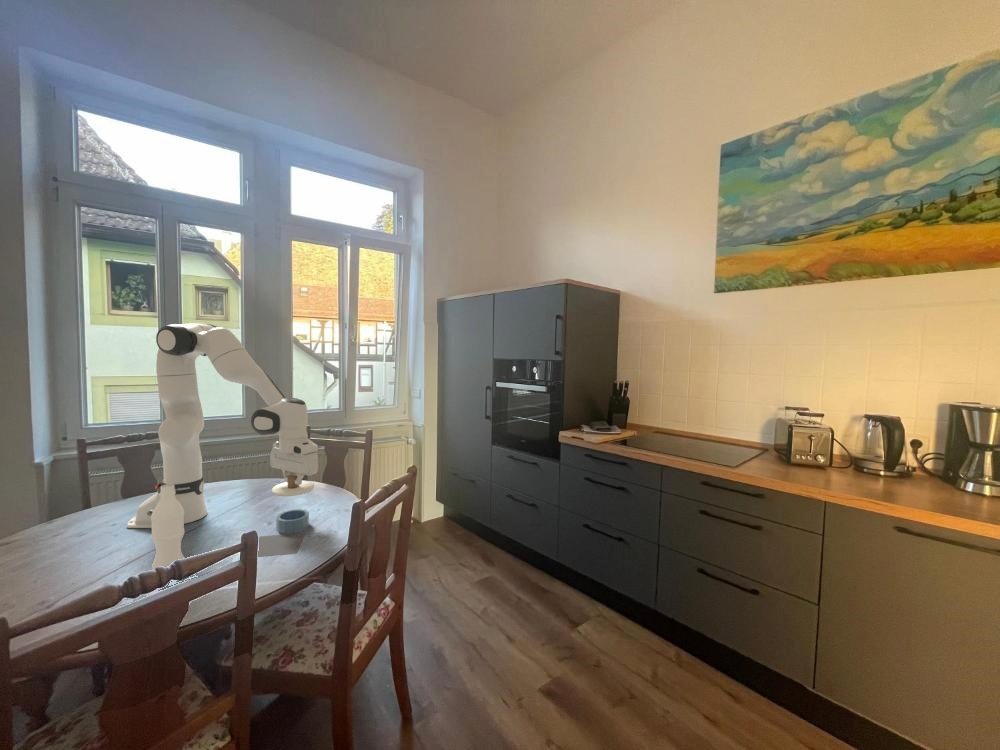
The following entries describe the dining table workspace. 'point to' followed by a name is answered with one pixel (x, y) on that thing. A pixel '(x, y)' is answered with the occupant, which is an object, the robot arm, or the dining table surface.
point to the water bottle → (167, 527)
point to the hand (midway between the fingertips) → (293, 483)
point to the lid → (292, 487)
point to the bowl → (292, 521)
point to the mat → (279, 544)
